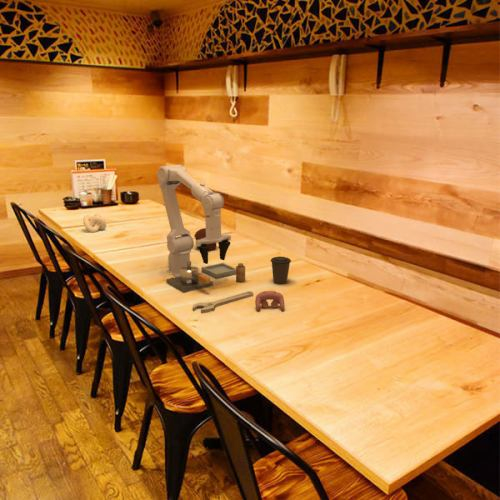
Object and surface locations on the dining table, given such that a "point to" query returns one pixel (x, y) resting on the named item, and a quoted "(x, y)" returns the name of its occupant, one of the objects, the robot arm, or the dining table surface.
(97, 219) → the pretzel
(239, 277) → the orange bottle
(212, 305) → the adjustable wrench
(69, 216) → the dining table surface
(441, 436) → the dining table surface
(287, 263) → the coffee cup
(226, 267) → the tray
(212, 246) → the muffin
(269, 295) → the video game controller
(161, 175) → the robot arm
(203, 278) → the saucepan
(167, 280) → the chuck base
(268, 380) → the dining table surface
